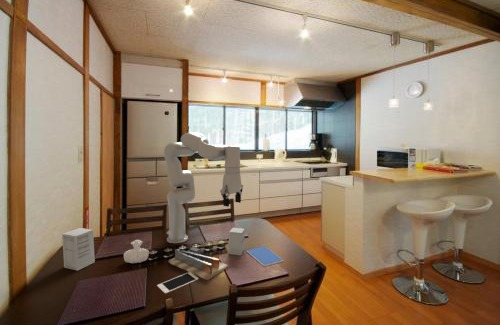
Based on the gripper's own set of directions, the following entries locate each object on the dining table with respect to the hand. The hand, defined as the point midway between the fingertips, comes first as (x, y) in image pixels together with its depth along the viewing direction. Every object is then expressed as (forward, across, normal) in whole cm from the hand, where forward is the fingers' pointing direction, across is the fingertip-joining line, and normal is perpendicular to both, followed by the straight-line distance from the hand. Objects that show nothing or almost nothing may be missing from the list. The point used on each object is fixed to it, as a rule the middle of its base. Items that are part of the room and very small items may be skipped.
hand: (232, 204), depth 128 cm
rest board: (+30, +13, -11) cm, 34 cm away
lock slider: (+28, +9, -18) cm, 35 cm away
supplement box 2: (+30, -10, -4) cm, 32 cm away
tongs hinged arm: (+28, +13, -10) cm, 33 cm away
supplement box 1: (+30, +46, -58) cm, 80 cm away
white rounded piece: (+30, +28, -40) cm, 57 cm away
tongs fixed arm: (+29, +16, -11) cm, 35 cm away
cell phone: (+31, +29, -7) cm, 43 cm away
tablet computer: (+31, -14, +11) cm, 36 cm away
